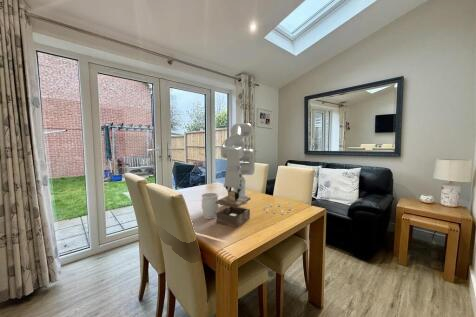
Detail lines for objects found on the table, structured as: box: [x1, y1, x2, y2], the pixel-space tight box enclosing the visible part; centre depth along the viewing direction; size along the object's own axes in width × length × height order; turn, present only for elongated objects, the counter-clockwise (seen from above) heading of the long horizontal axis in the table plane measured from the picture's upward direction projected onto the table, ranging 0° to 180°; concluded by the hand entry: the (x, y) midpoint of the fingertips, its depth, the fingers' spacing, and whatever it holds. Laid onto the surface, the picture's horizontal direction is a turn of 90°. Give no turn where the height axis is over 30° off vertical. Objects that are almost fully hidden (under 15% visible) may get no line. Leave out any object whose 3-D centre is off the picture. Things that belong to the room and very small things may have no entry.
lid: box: [216, 189, 251, 208], centre depth 129 cm, size 17×15×7 cm
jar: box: [201, 192, 219, 220], centre depth 137 cm, size 11×10×15 cm
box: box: [215, 206, 251, 229], centre depth 130 cm, size 16×14×7 cm
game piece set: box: [263, 201, 292, 215], centre depth 152 cm, size 19×20×4 cm
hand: (233, 197), depth 129 cm, fingers closed on lid, 4 cm apart
